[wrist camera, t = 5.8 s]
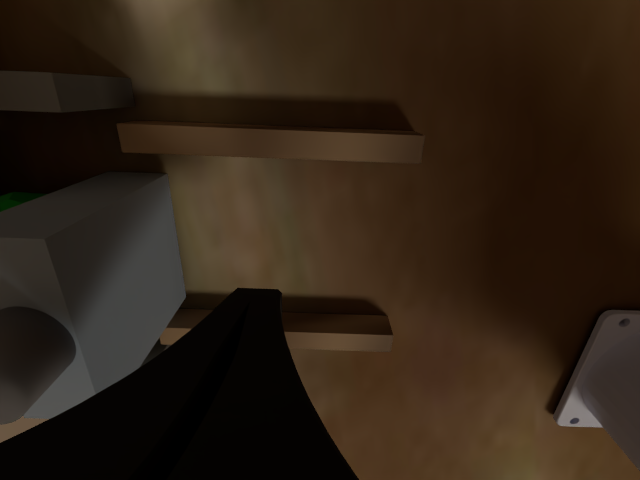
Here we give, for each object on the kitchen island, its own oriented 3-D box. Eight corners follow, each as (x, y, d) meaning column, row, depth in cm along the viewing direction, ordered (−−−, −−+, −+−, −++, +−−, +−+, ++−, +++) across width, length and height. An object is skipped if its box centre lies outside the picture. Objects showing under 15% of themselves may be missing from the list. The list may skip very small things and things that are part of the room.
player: (167, 173, 14) (-22, 274, 6) (186, 297, 16) (67, 476, 9) (108, 171, 14) (-154, 269, 6) (136, 295, 16) (-27, 474, 9)
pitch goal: (420, 89, 13) (460, 89, 9) (381, 353, 18) (397, 420, 14) (-71, 69, 12) (-234, 60, 9) (37, 342, 18) (-37, 406, 14)
